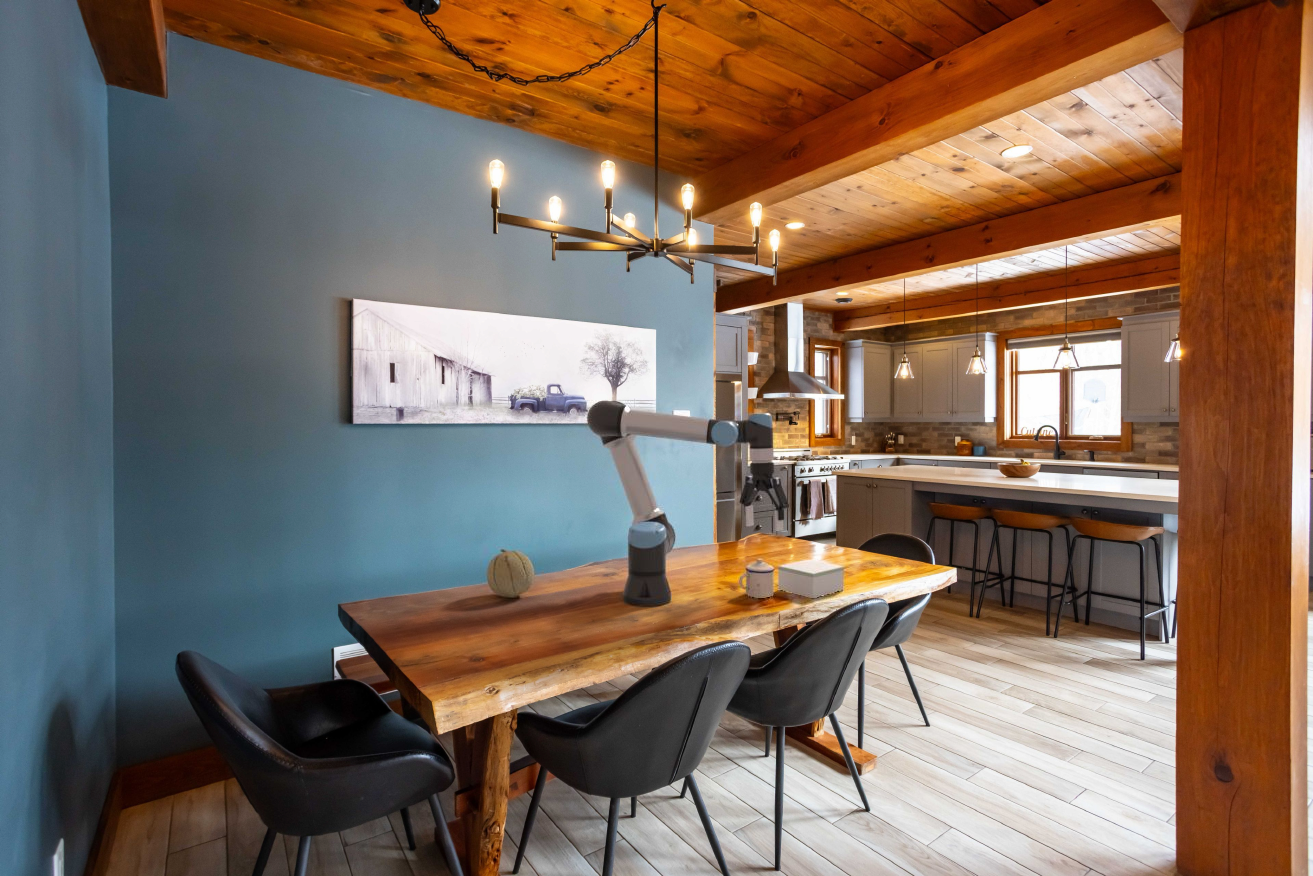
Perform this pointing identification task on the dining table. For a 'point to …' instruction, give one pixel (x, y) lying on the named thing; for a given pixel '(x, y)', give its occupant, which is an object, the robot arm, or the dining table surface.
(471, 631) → the dining table surface
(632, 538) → the robot arm
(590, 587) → the dining table surface
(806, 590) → the stand
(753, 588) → the teacup with lid
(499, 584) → the cantaloupe
